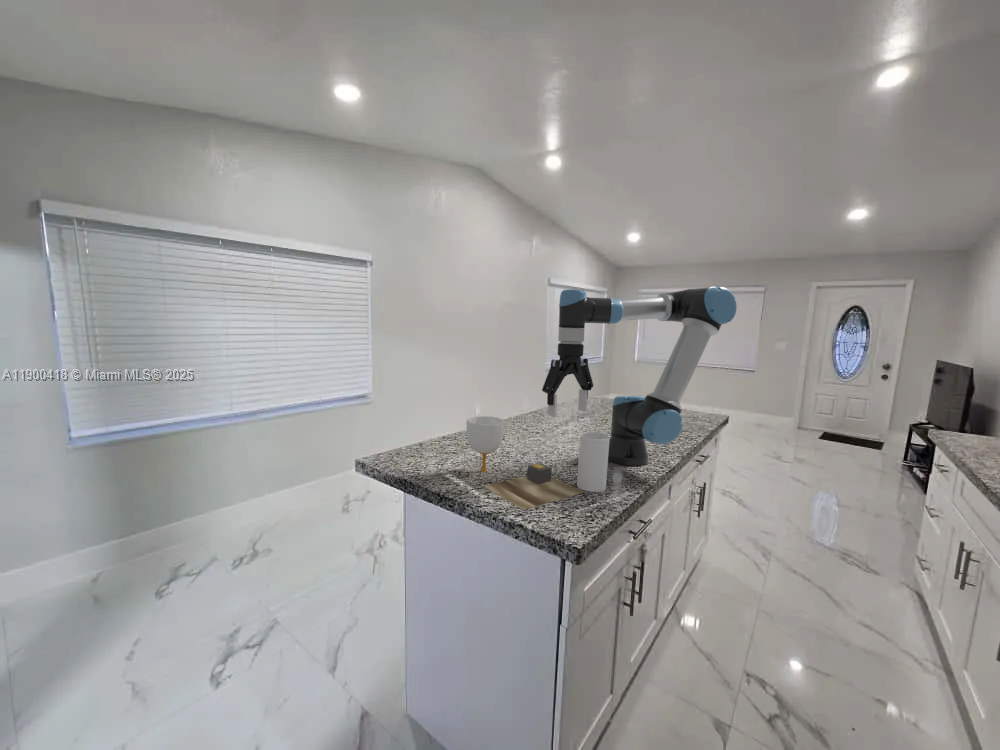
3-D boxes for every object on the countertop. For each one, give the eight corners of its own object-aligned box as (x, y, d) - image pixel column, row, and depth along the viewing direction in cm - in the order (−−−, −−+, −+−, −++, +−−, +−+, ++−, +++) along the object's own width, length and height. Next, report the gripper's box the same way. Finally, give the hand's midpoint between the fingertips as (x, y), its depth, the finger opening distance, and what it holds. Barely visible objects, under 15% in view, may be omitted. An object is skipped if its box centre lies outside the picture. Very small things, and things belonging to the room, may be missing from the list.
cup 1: (475, 483, 123) (477, 426, 121) (458, 470, 133) (460, 417, 131) (509, 477, 129) (512, 423, 127) (490, 465, 139) (492, 415, 137)
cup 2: (611, 493, 120) (615, 438, 118) (586, 496, 117) (590, 440, 115) (594, 482, 128) (598, 431, 126) (571, 485, 125) (574, 432, 123)
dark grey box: (539, 475, 129) (540, 461, 128) (550, 480, 125) (551, 466, 124) (527, 478, 126) (527, 464, 125) (538, 484, 122) (538, 469, 121)
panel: (541, 475, 132) (541, 472, 132) (584, 495, 118) (584, 491, 118) (482, 489, 119) (483, 485, 119) (523, 513, 105) (523, 509, 105)
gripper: (587, 341, 136) (584, 406, 138) (531, 342, 120) (529, 415, 123) (607, 342, 130) (603, 410, 133) (550, 344, 114) (547, 420, 117)
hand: (567, 413), depth 128 cm, fingers open, 13 cm apart
